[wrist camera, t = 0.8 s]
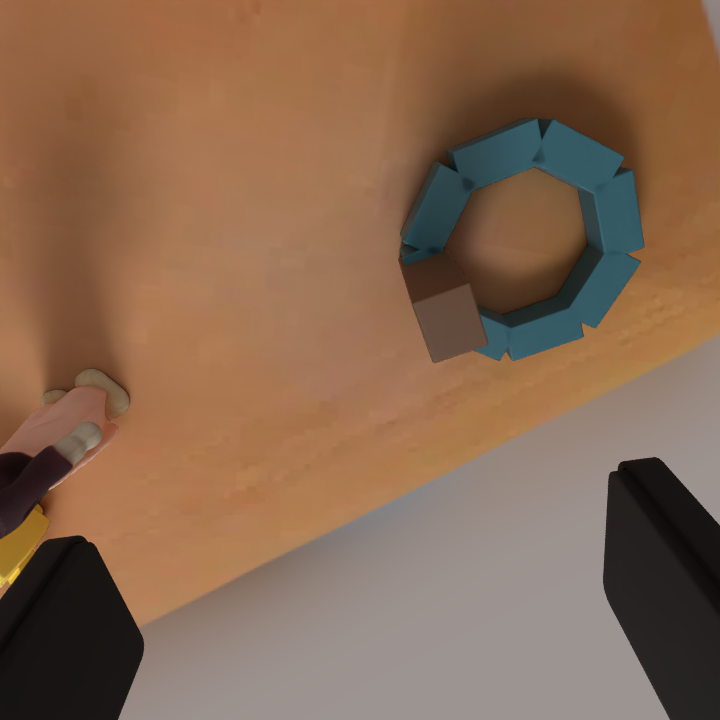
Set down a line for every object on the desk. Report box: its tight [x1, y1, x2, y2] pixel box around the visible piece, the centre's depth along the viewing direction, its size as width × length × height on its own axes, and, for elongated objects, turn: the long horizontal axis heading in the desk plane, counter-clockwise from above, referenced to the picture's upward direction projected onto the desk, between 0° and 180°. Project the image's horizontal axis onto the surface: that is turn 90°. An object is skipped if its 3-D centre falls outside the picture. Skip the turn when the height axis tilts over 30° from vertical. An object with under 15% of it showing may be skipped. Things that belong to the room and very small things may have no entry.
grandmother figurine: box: [0, 369, 130, 539], centre depth 19 cm, size 8×4×13 cm, turn 128°
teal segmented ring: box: [398, 118, 644, 363], centre depth 19 cm, size 9×9×6 cm
